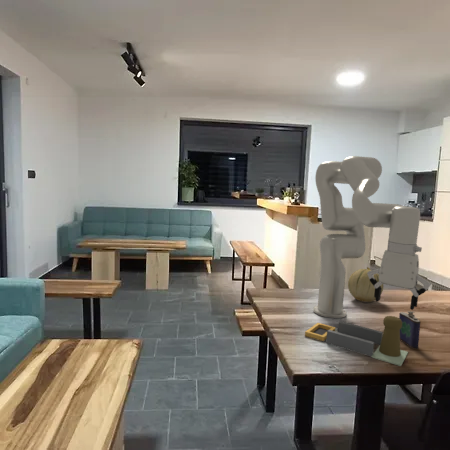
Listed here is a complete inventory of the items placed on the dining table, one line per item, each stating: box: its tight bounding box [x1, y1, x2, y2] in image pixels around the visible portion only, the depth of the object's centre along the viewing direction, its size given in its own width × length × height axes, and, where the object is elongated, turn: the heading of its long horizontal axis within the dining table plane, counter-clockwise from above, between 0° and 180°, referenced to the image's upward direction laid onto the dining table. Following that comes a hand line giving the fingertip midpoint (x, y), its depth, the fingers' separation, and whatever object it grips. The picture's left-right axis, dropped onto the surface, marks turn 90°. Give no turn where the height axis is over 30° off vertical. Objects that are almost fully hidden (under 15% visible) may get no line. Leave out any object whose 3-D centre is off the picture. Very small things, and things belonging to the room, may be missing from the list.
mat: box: [371, 345, 409, 367], centre depth 110 cm, size 11×8×1 cm
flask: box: [398, 310, 421, 350], centre depth 119 cm, size 9×3×11 cm, turn 8°
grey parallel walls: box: [325, 320, 384, 358], centre depth 117 cm, size 12×14×4 cm
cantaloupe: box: [347, 266, 384, 303], centre depth 163 cm, size 15×15×15 cm
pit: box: [304, 322, 337, 342], centre depth 123 cm, size 11×6×2 cm, turn 144°
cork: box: [379, 315, 402, 357], centre depth 110 cm, size 6×6×11 cm
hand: (394, 304), depth 110 cm, fingers open, 9 cm apart
